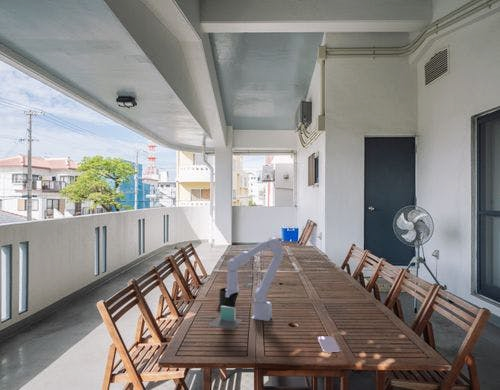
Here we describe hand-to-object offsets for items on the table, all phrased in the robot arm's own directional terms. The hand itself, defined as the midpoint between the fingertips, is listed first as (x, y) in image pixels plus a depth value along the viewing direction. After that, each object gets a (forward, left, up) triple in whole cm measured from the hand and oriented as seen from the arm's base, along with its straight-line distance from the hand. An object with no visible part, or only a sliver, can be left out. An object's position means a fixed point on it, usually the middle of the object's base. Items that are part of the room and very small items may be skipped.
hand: (232, 306), depth 179 cm
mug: (+9, -15, -6) cm, 18 cm away
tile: (0, +6, -5) cm, 8 cm away
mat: (0, +9, -6) cm, 10 cm away
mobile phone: (-53, +14, -6) cm, 55 cm away
